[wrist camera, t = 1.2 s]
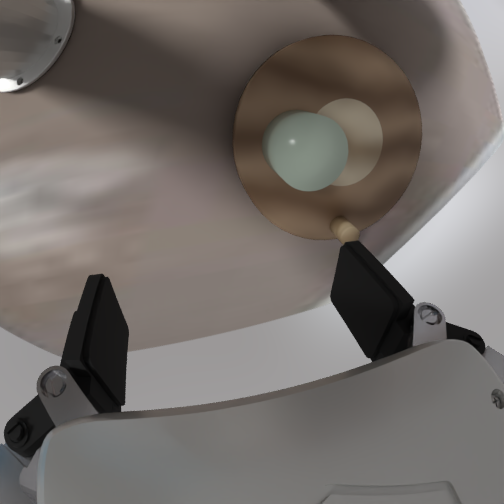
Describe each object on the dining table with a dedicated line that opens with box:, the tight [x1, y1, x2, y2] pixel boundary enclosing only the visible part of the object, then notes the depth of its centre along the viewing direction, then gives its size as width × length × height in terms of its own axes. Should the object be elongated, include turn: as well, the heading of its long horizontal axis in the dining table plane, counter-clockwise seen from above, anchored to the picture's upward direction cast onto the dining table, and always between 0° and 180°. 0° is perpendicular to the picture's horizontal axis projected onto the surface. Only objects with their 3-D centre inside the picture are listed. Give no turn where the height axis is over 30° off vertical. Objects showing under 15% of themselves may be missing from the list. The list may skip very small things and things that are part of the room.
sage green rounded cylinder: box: [262, 110, 348, 191], centre depth 24 cm, size 7×7×4 cm
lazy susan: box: [232, 35, 422, 245], centre depth 26 cm, size 24×24×4 cm
